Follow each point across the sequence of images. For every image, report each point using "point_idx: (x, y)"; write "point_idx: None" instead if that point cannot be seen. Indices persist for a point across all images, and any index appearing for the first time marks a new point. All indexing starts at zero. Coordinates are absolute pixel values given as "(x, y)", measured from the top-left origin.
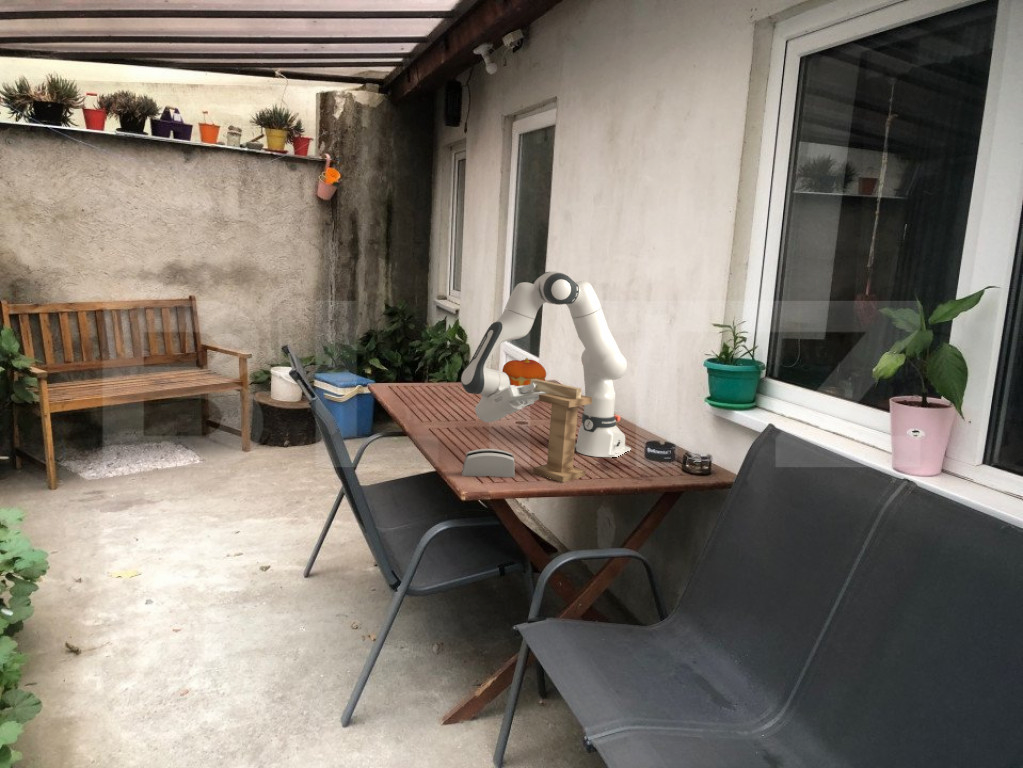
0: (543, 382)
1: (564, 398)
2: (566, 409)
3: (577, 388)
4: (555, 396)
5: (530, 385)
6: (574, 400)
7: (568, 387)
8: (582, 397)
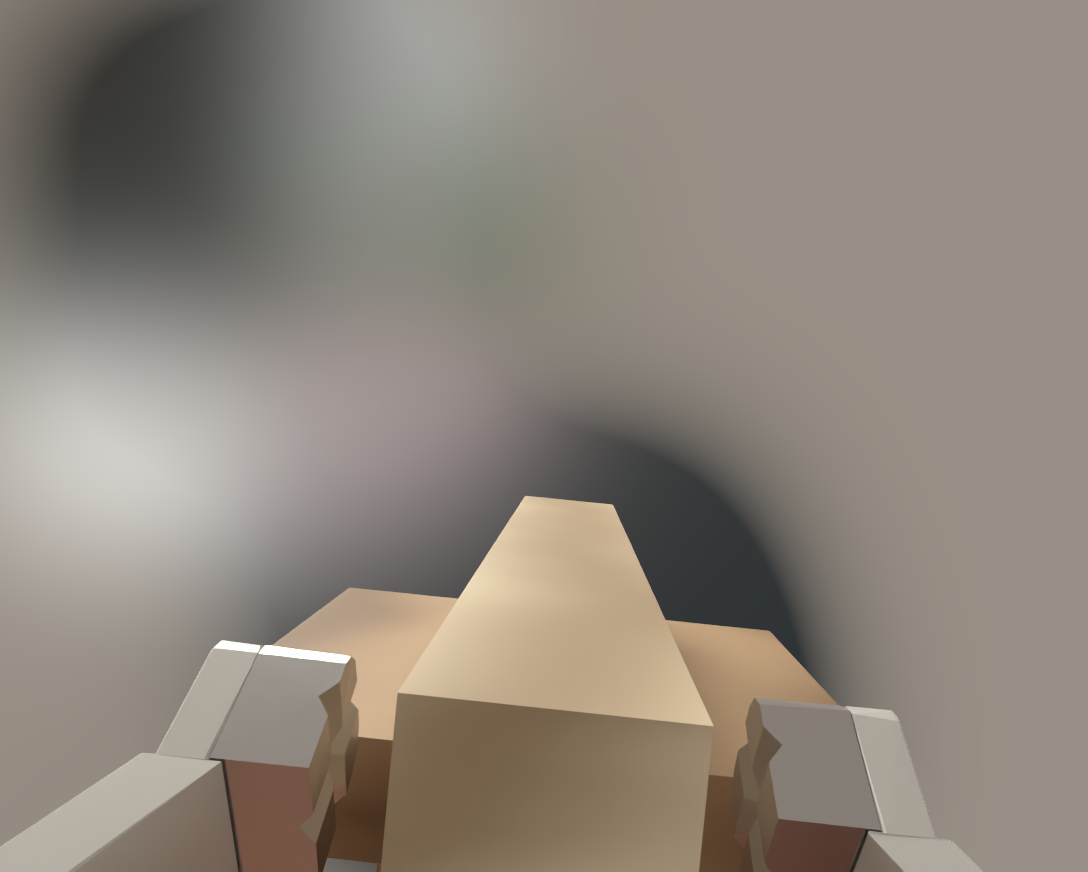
0: (654, 599)
1: (702, 653)
2: None
3: (566, 502)
4: (724, 696)
5: (913, 829)
6: (674, 621)
7: (616, 517)
8: (437, 609)
